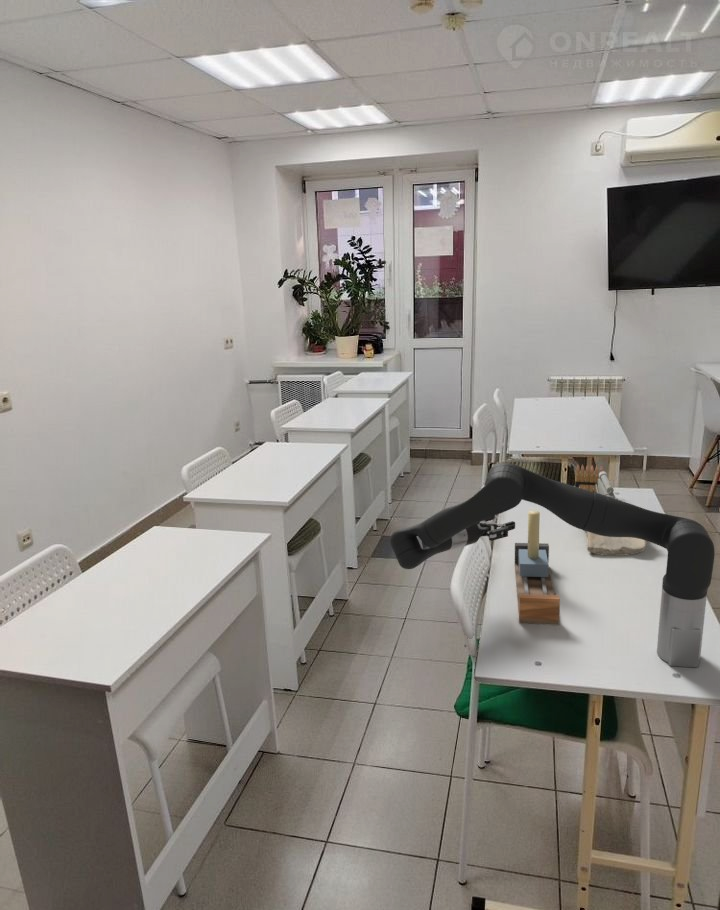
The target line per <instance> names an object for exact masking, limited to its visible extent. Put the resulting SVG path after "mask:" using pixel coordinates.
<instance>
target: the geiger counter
mask: <svg viewBox="0 0 720 910" xmlns="http://www.w3.org/2000/svg"><path fill="white" fill-rule="evenodd" d="M598 475H599V478H600V479H598V487H597V484H596V490H597V493H599V494H602V495H605V496H609V497H611V498H614V499H616V495H615V493H614V491H615V489H614V487H613V485H612V482H611V481H610V480H609V475H608V473H607V472H606V471H604V470H603V471H602V472H600V471H599V472H598Z"/></svg>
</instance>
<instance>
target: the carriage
mask: <svg viewBox="0 0 720 910" xmlns="http://www.w3.org/2000/svg"><path fill="white" fill-rule="evenodd" d="M540 515H541V514H540V511H537V510H530V511H528V513H527V543H528V549H519V555H518V562H519V572H520V576H526V577H548V568H549V569H550V565H549V562H548V559H547V554H546V550H539V543H540Z"/></svg>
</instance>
